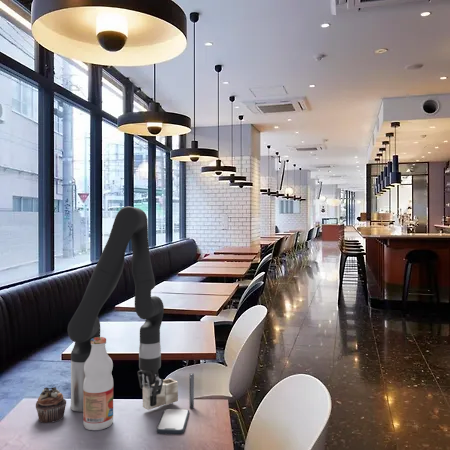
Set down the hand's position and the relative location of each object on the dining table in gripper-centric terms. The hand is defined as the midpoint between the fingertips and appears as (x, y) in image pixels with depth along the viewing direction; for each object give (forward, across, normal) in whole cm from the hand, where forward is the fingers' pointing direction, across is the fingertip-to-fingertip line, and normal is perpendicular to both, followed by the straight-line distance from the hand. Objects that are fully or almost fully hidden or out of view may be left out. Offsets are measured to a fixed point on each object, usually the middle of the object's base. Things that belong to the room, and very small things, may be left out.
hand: (150, 403), depth 147 cm
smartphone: (+4, -12, -2) cm, 13 cm away
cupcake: (+3, +18, +28) cm, 33 cm away
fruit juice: (+3, +3, +18) cm, 18 cm away
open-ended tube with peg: (+1, 0, -4) cm, 4 cm away
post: (+3, -7, -13) cm, 15 cm away
